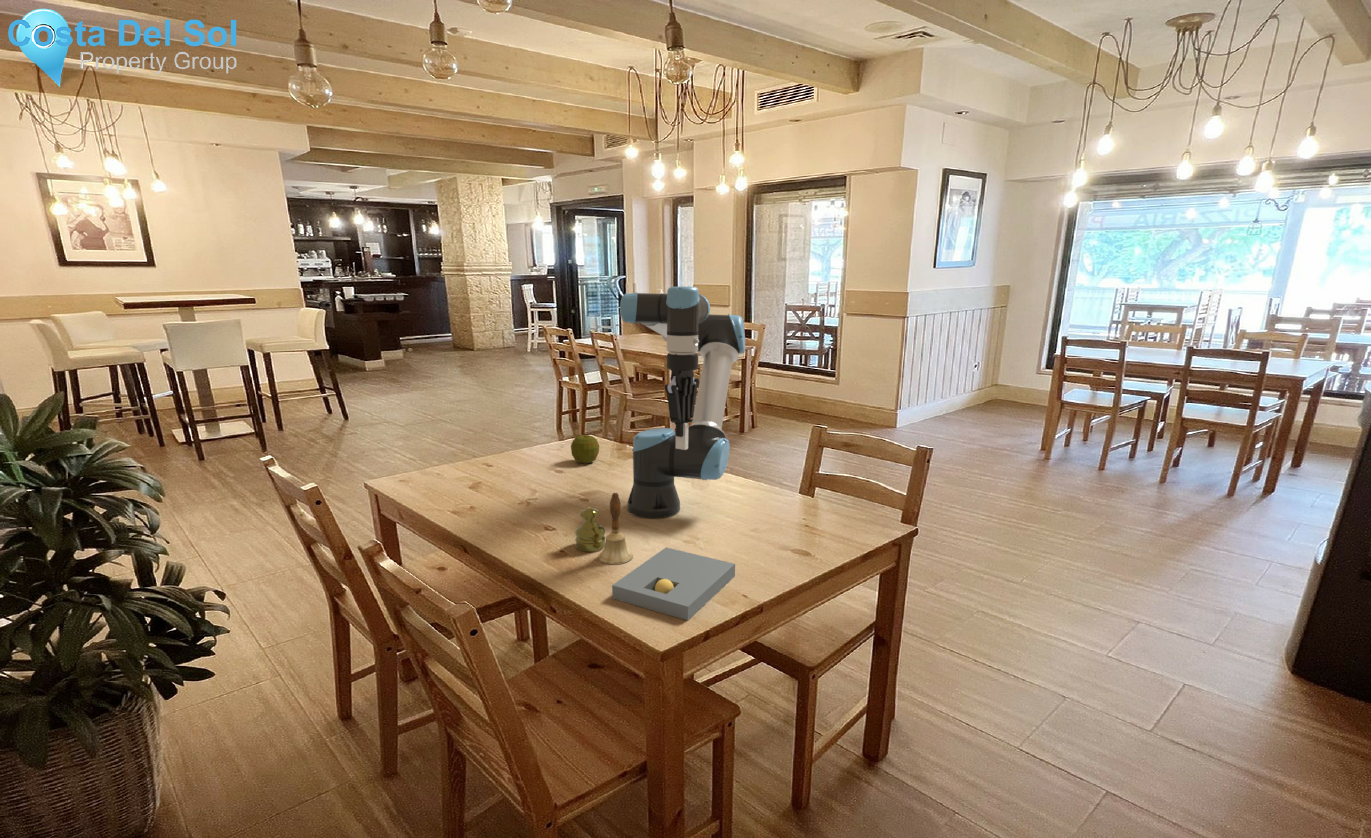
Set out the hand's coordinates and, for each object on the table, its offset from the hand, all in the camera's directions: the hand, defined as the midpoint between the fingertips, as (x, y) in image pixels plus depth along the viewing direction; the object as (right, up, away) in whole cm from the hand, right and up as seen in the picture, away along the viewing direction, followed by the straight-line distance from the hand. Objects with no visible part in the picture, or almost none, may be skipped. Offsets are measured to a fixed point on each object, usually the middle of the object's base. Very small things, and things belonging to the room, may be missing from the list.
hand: (681, 448), depth 159 cm
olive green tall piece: (-23, -25, +2) cm, 34 cm away
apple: (-35, -9, +73) cm, 82 cm away
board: (-1, -29, -19) cm, 35 cm away
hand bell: (-16, -26, -4) cm, 31 cm away
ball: (-3, -29, -22) cm, 37 cm away
